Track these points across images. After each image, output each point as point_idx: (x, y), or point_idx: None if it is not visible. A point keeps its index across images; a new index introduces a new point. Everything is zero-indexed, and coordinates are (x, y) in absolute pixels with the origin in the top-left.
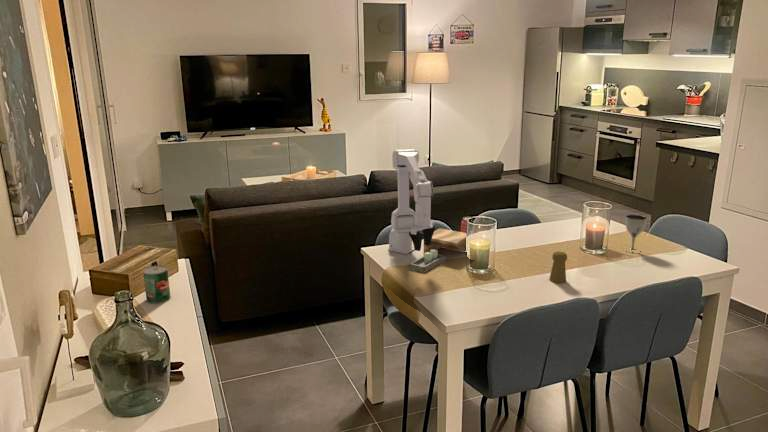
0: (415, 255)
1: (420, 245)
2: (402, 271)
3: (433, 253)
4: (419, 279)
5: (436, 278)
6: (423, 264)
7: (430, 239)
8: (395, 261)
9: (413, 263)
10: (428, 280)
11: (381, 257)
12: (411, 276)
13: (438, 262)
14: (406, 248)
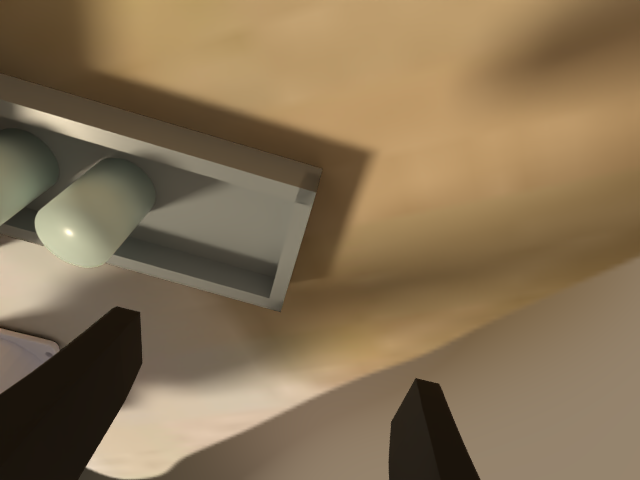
0: (34, 293)
1: (460, 464)
2: (358, 309)
3: (5, 191)
4: (501, 167)
5: (445, 11)
6: (179, 212)
7: (74, 384)
8: (206, 368)
9: (243, 284)
10: (517, 81)
11: (188, 427)
12: (443, 239)
13: (64, 101)
14: (15, 367)
